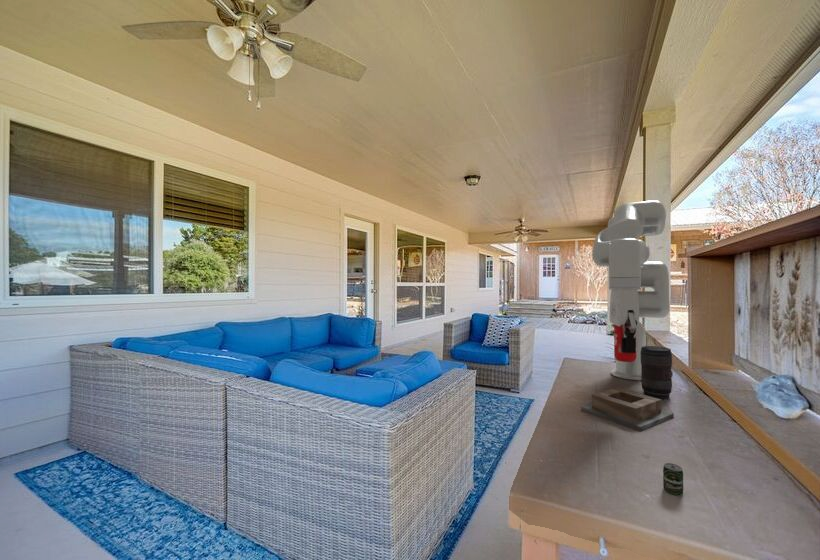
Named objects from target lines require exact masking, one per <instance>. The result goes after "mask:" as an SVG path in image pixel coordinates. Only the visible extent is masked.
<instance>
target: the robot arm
mask: <svg viewBox="0 0 820 560" xmlns="http://www.w3.org/2000/svg"><path fill="white" fill-rule="evenodd" d="M666 214H667V213H666V208H665V206H664V203H662V202H661V201H659V200H646V201H636V202H635V201H634V202H633V201H632V202H628V203H627V202H626V203H624V204H621V205H619V206H618V207H617V208H616V209H615V210H614V214H613V216H612V217H611V218H610V219H609V220H608V223H607V227H606V228H604V229H602V230H601V231H600V232H598V234H597V235H596V237H595V238H594V241H593V247H592V253H591V254H592V255H591V256H592V260H593V262H594V264H595V265H596V266H599V267H608V289H609V290H610V301H609V322H610V323H611V324H613V325H614V324H615V325H616V326H619V327H620V326H621V325H622V331H623V337H622V352H623V353H636V359H635V362H621V361H617V360H616V359H615V368H613V369H611V370H610V373H611V375H612V376H614V377H617V378H620V379H625V380H630V381H631V380H632V381H641V353H640V352H641V347H643V346H647V344H646V341H647V340H646V328H645V326H644V325H643V324H642V323H641V322H640V318H651V319H652V318H653V319H654V318H657V319H659V318H666V317H667V316H668V315H669V312H670V308H671V307H670V304H671V303H670V277H669V269H668V266H667V264H666V263H664V262H662V261H657V260H656V261H648V260H649V258H650V246H649V245H648V244H647V243H646V242H645V241H643V240H642V239H639V238H641V237H650V236H658V235H661V234H662V233H663V232H664V230H665V228H666V227H665V226H666V216H667V215H666ZM642 288H651V289H652V290H650V291H649V290H646V291H645V290H642ZM625 324H629V326H625ZM626 329H627V330H626Z"/></svg>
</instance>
